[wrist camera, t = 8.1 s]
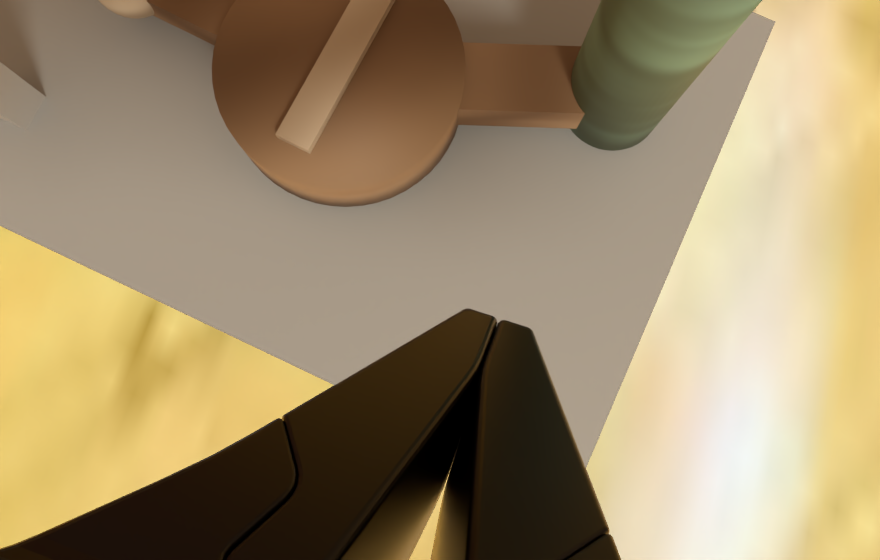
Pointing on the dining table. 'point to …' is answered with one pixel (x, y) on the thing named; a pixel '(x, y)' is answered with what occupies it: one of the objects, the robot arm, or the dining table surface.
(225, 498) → the robot arm
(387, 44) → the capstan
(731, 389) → the dining table surface
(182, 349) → the dining table surface
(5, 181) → the stand
